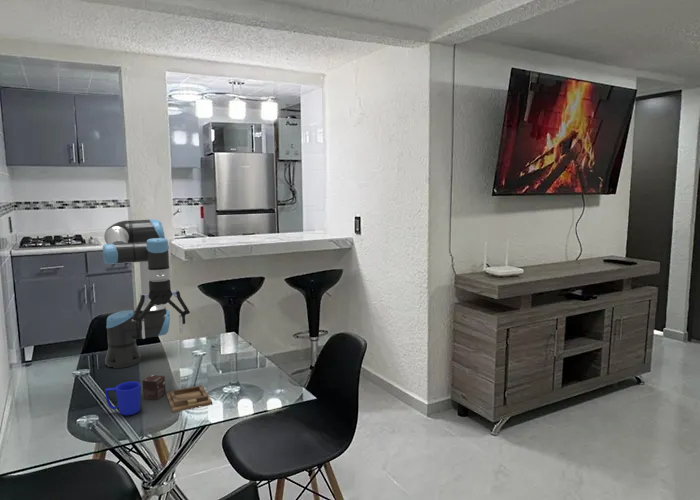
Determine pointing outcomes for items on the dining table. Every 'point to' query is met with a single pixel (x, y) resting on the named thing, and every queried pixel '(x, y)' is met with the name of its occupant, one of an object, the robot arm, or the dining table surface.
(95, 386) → the dining table surface
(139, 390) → the mug
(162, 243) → the robot arm
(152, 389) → the box
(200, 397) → the brown tray
